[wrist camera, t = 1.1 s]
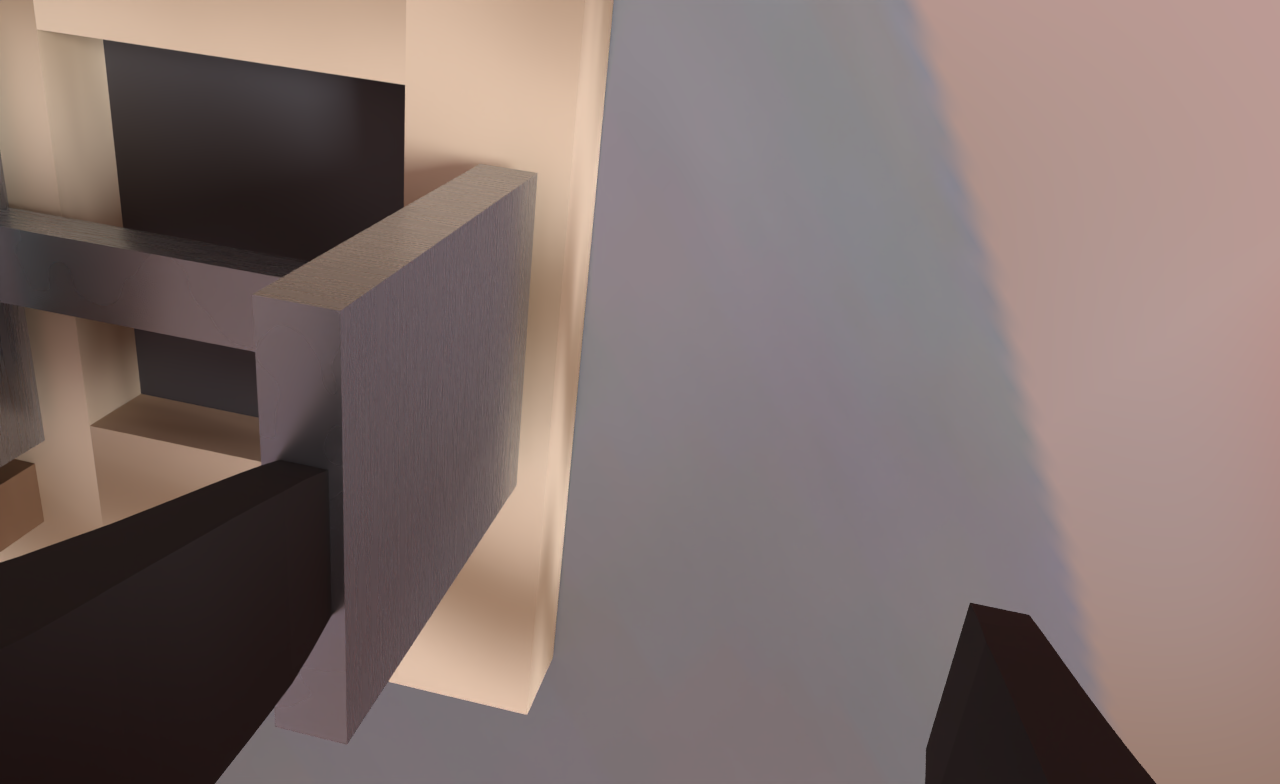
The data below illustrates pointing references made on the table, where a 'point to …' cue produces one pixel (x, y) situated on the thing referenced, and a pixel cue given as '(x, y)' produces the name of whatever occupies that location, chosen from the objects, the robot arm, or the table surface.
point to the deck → (303, 242)
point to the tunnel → (18, 501)
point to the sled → (330, 388)
